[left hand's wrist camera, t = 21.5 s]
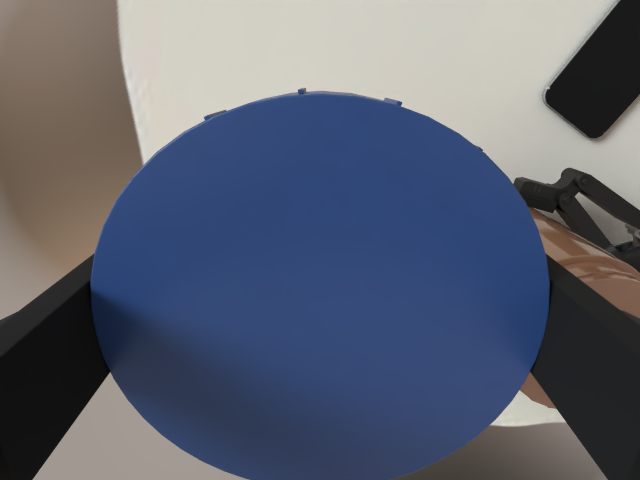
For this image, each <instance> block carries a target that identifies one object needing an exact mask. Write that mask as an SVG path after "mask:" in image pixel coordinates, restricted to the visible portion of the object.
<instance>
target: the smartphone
mask: <svg viewBox="0 0 640 480" xmlns="http://www.w3.org/2000/svg"><path fill="white" fill-rule="evenodd" d="M639 94H640V0H617V1H616V2H615V3H614V5H613V6H612V7H611V8H610V9H609V11H608V12H607V13H606V14H605V16H604V17H603V18H602V19H601V21H600V22H599V23H598V24H597V25H596V27H595V28H594V29H593V30H592V32H591V33H590V34H589V35H588V36H587V38H586V39H585V40H584V41H583V43H582V44H581V45H580V46H579V48H578V49H577V50H576V51H575V52H574V54H573V55H572V56H571V57H570V59H569V60H568V61H567V62H566V63H565V65H564V66H563V67H562V68H561V70H560V71H559V72H558V73H557V75H556V76H555V77H554V78H553V79H552V81H551V82H550V83H549V84H548V86H547V87H546V88H545V90H544V92H543V102H544V103H545V104H546V105H547V106H548V107H549V108H551V109H552V110H553V111H554V112H556V113H557V114H558V115H559V116H561V117H562V118H563V119H564V120H566V121H567V122H568V123H569V124H571V125H572V126H573V127H574V128H576V129H577V130H578V131H579V132H581V133H582V134H583V135H584V136H586V137H589V138H597V137H600V136H601V135H603V134H604V133H605V132H606V131H607V130H608V129H609V127H610V126H611V125H612V124H613V123H614V122H615V121H616V120H617V119H618V118H619V116H620V115H621V114H622V113H623V112H624V111H625V110H626V109H627V108H628V106H629V105H630V104H631V103H632V102H633V101H634V100H635V99H636V98H637V97H638V95H639Z"/></svg>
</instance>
